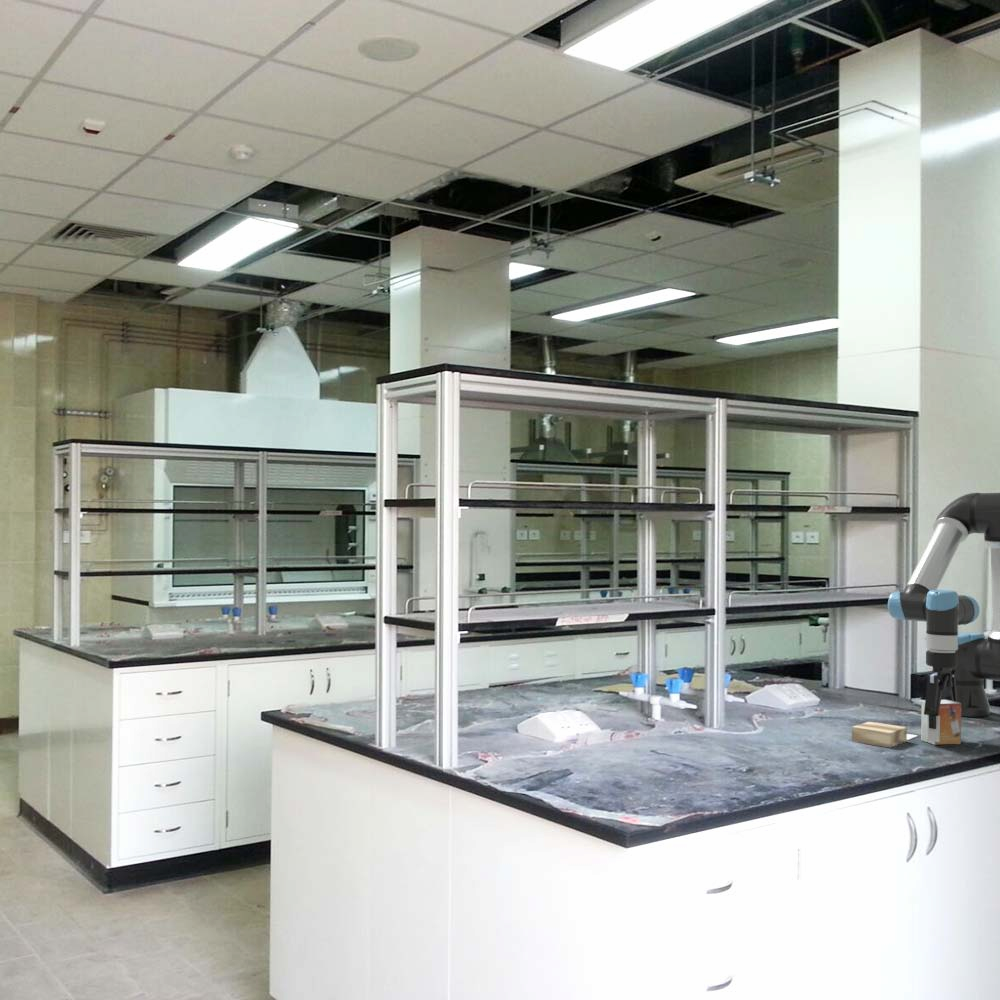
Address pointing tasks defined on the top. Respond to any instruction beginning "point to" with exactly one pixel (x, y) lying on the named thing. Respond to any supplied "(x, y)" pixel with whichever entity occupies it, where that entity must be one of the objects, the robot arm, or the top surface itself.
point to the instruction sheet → (911, 736)
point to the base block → (879, 734)
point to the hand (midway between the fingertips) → (941, 737)
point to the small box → (944, 723)
